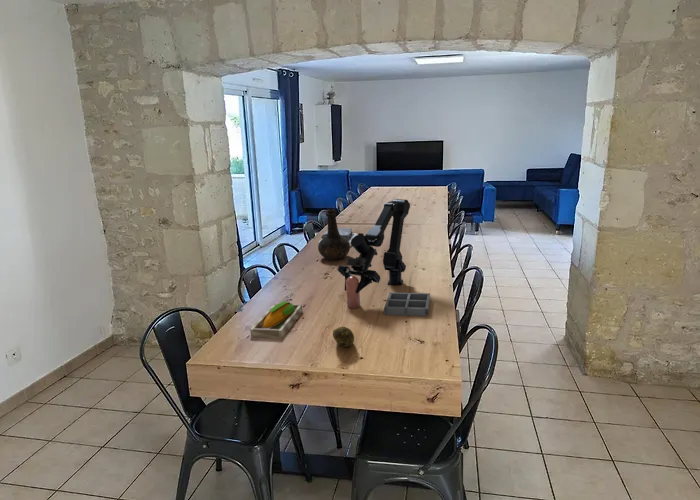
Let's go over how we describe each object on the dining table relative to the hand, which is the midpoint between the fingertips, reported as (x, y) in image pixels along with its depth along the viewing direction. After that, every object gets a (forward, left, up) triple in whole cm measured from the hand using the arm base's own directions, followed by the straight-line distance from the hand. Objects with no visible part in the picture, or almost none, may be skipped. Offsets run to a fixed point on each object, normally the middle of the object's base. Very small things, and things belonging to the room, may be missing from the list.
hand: (350, 291), depth 198 cm
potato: (+35, +4, -7) cm, 36 cm away
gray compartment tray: (-2, +23, -7) cm, 24 cm away
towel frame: (-106, -30, -7) cm, 111 cm away
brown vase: (-71, -24, -7) cm, 76 cm away
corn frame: (+19, -25, -7) cm, 32 cm away
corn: (+19, -25, -7) cm, 32 cm away
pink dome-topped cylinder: (-1, +1, -7) cm, 7 cm away
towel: (-106, -31, -7) cm, 111 cm away
